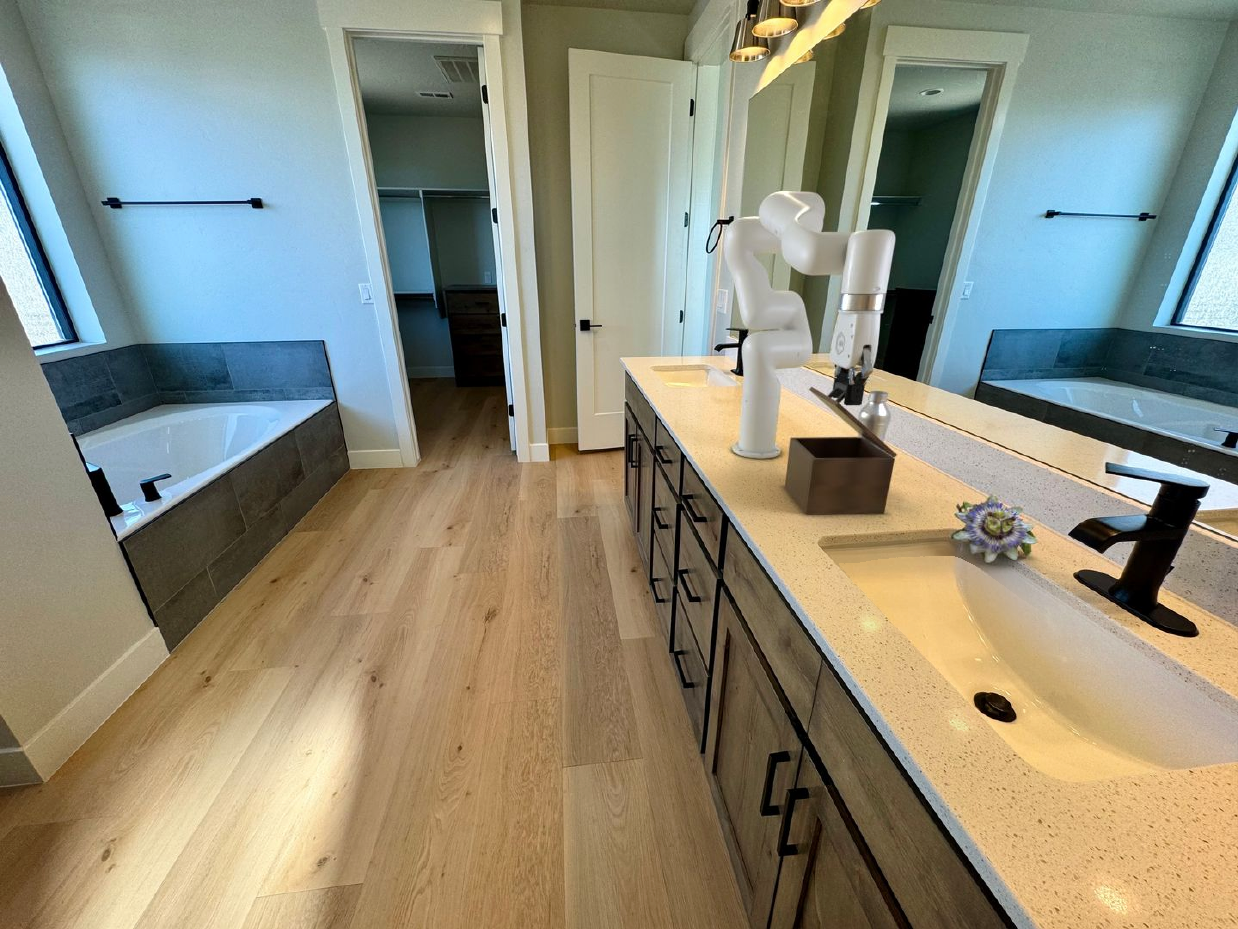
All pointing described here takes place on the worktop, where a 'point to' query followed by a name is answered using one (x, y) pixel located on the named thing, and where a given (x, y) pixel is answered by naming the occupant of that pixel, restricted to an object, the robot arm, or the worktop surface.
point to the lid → (849, 415)
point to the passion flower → (994, 529)
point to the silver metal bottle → (876, 414)
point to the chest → (838, 475)
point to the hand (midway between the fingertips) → (846, 400)
